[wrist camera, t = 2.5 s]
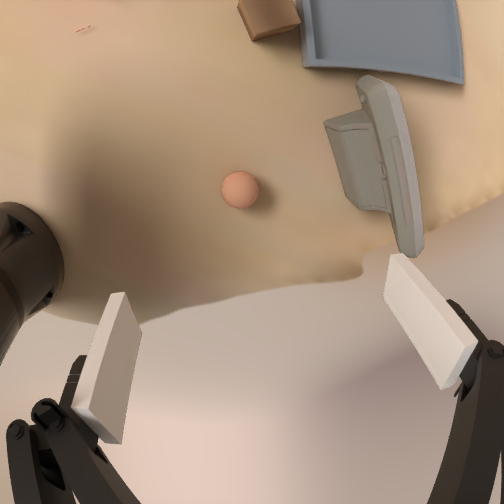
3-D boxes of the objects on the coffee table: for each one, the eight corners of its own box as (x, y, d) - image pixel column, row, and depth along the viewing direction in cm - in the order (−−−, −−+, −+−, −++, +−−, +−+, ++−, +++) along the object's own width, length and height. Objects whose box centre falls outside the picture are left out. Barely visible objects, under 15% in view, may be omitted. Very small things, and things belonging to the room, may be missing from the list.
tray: (453, 83, 26) (464, 84, 24) (302, 67, 25) (309, 65, 23) (442, -12, 19) (452, -15, 18) (289, -45, 18) (294, -53, 17)
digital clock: (399, 209, 34) (450, 252, 25) (332, 222, 34) (371, 274, 25) (393, 74, 26) (457, 77, 17) (315, 77, 26) (362, 72, 17)
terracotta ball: (223, 203, 31) (224, 216, 28) (219, 169, 30) (219, 179, 27) (258, 198, 32) (262, 211, 29) (255, 165, 30) (259, 174, 27)
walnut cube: (251, 41, 24) (256, 33, 20) (236, 7, 22) (239, -5, 18) (290, 30, 23) (301, 22, 20) (276, -3, 21) (284, -15, 18)
